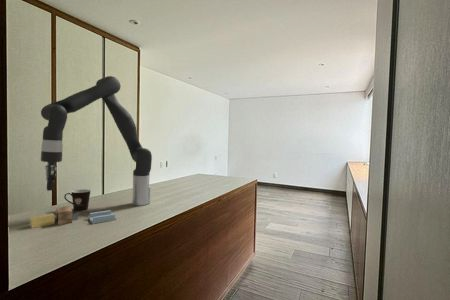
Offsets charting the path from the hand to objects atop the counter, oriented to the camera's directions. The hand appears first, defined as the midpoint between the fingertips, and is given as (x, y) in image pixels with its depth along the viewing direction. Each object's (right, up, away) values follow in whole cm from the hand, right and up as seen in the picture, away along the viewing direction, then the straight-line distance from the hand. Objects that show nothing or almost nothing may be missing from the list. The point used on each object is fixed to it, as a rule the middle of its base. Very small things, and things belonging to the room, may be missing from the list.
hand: (49, 190), depth 105 cm
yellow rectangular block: (-3, -15, -1) cm, 15 cm away
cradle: (+18, -15, +9) cm, 26 cm away
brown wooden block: (+3, -15, +4) cm, 16 cm away
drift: (+4, -15, +5) cm, 16 cm away
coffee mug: (-1, -14, +23) cm, 27 cm away
